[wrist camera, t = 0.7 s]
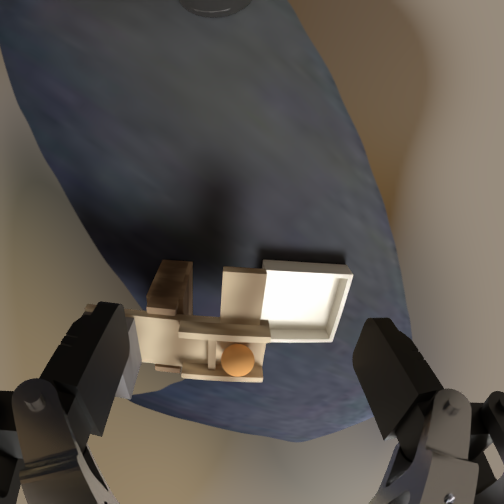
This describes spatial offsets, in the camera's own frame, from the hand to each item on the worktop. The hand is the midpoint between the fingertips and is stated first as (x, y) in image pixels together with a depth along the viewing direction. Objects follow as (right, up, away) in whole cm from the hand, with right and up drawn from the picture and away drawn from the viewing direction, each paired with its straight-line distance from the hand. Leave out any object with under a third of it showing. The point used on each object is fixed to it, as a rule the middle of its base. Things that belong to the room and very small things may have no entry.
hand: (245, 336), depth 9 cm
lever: (-8, -4, +21) cm, 23 cm away
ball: (-1, -8, +22) cm, 23 cm away
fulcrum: (-10, -3, +30) cm, 32 cm away
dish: (+7, -4, +32) cm, 33 cm away
